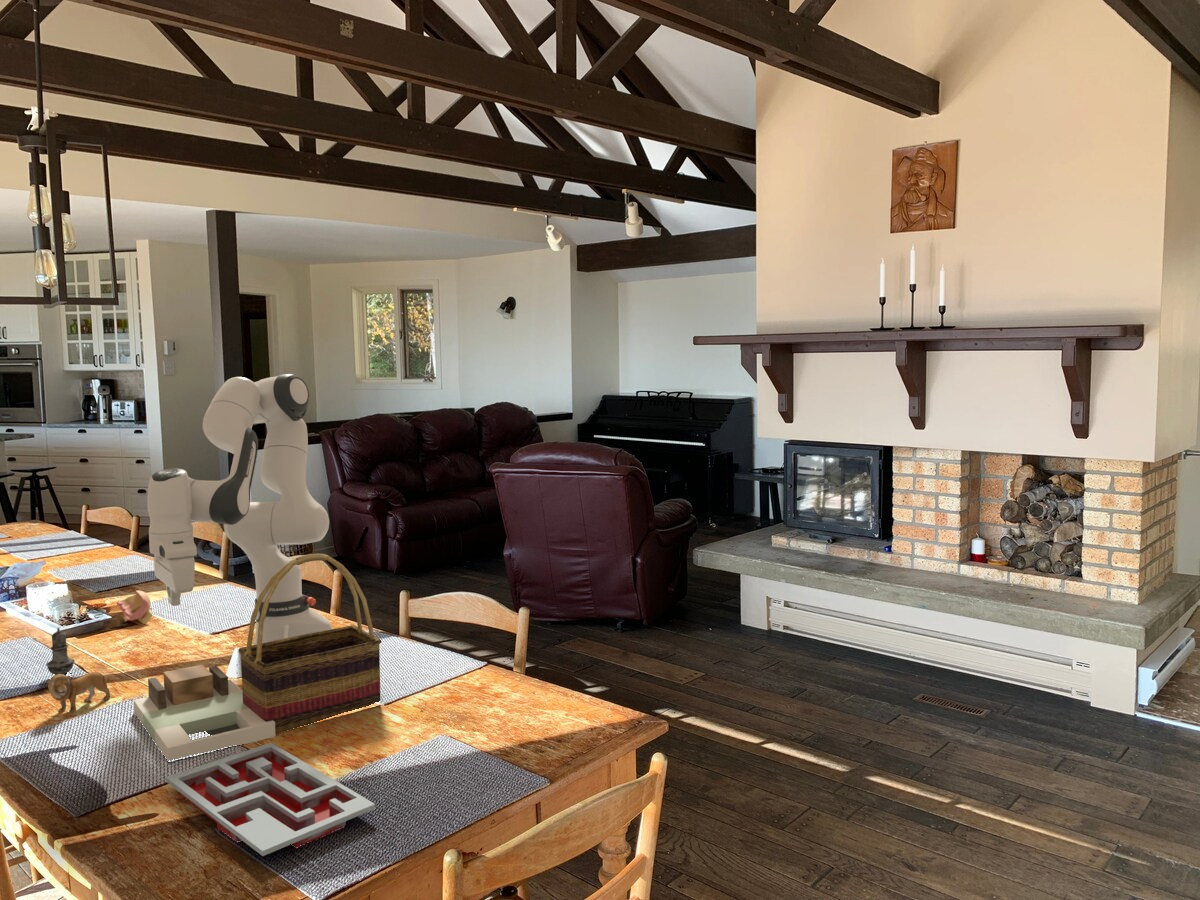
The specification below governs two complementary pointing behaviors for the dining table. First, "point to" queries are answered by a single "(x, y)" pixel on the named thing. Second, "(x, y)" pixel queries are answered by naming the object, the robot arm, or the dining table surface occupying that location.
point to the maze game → (269, 798)
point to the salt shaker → (59, 655)
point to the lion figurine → (76, 688)
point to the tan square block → (188, 684)
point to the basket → (310, 665)
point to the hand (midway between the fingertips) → (174, 604)
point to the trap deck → (202, 723)
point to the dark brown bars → (159, 692)
